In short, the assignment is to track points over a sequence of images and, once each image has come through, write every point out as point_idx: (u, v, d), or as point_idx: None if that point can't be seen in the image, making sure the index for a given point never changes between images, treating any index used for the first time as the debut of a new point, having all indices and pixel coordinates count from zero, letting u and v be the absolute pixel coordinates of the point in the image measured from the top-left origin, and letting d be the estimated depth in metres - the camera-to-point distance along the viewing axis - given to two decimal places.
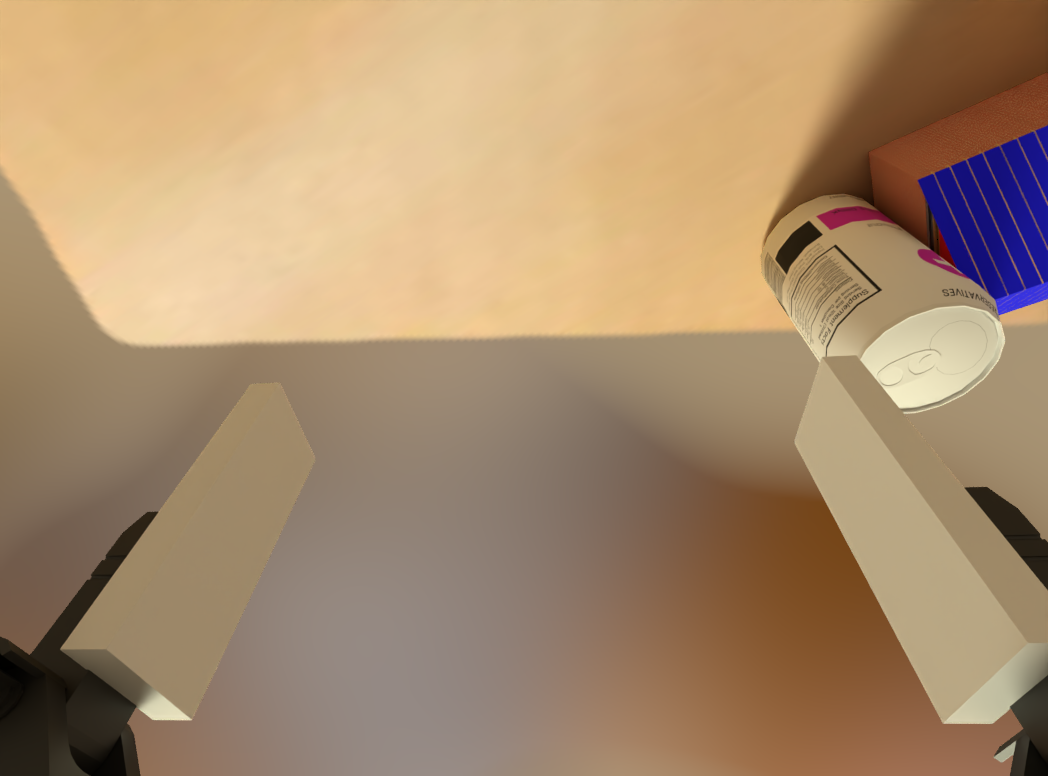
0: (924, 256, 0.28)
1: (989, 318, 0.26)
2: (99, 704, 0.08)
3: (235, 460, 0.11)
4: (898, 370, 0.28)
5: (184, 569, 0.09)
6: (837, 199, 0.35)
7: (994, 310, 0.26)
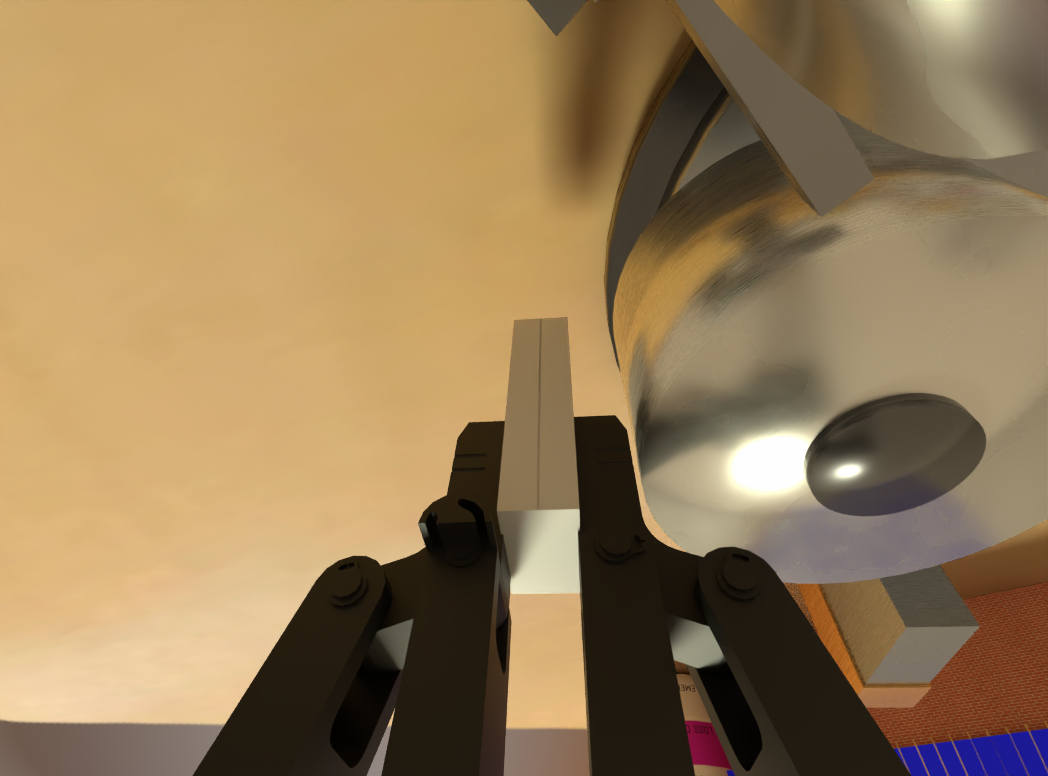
0: None
1: None
2: (505, 566, 0.10)
3: (541, 377, 0.12)
4: None
5: None
6: None
7: None
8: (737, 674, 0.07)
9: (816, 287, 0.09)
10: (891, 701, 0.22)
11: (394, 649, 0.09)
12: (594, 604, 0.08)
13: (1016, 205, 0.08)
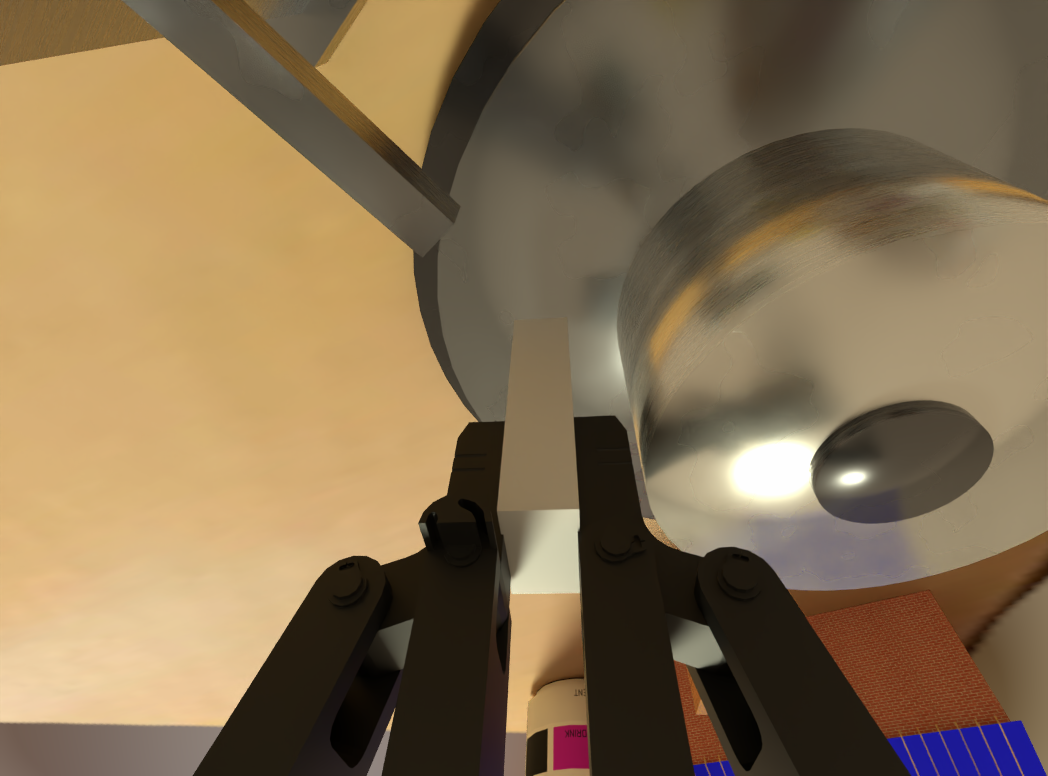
0: None
1: None
2: (506, 566, 0.10)
3: (541, 378, 0.12)
4: None
5: None
6: (579, 700, 0.35)
7: None
8: (737, 674, 0.07)
9: (821, 295, 0.09)
10: None
11: (394, 649, 0.09)
12: (594, 604, 0.08)
13: (1023, 212, 0.08)
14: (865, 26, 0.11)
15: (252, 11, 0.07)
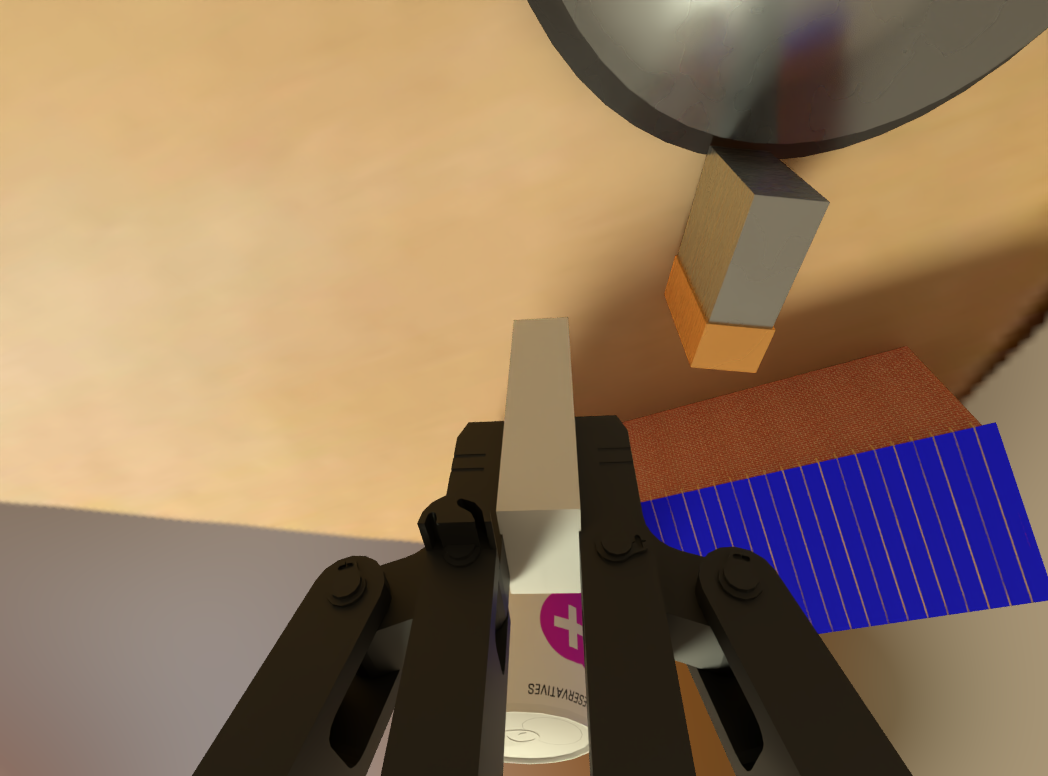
0: (545, 613, 0.26)
1: None
2: (505, 566, 0.10)
3: (540, 378, 0.12)
4: None
5: None
6: None
7: (586, 704, 0.24)
8: (738, 674, 0.07)
9: None
10: (734, 357, 0.20)
11: (393, 649, 0.09)
12: (595, 604, 0.08)
13: None
14: None
15: None
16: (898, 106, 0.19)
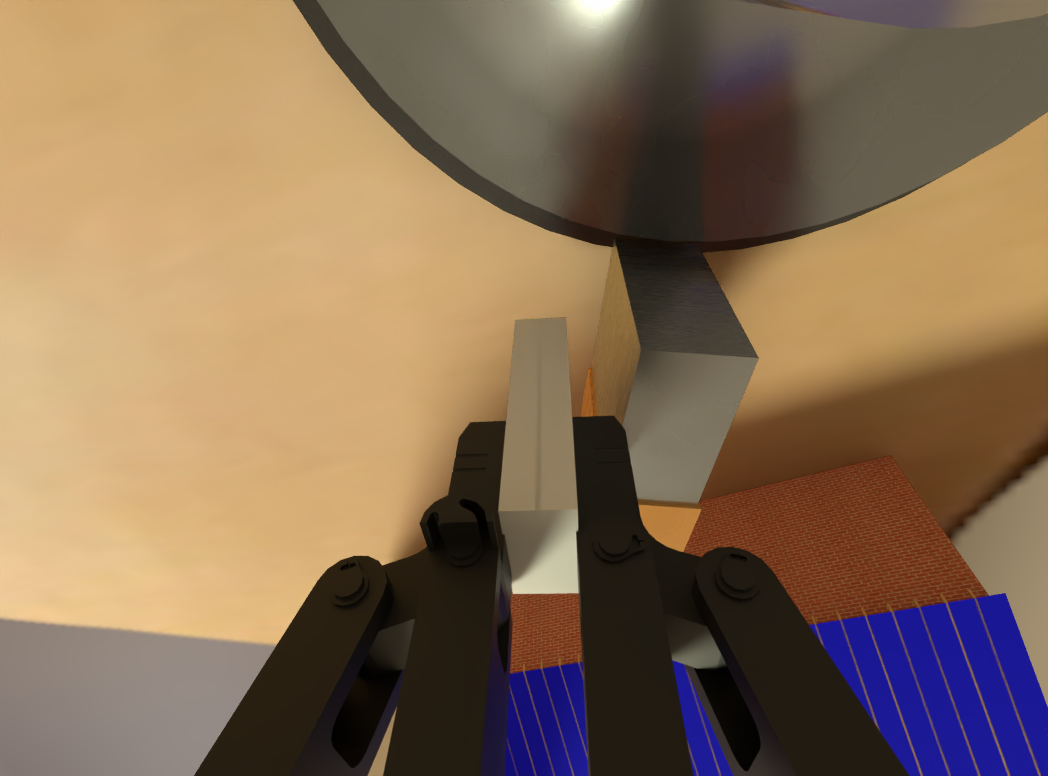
0: None
1: None
2: (507, 566, 0.10)
3: (542, 377, 0.12)
4: None
5: None
6: None
7: None
8: (734, 674, 0.07)
9: None
10: None
11: (395, 649, 0.09)
12: (592, 604, 0.08)
13: None
14: None
15: None
16: (872, 190, 0.13)
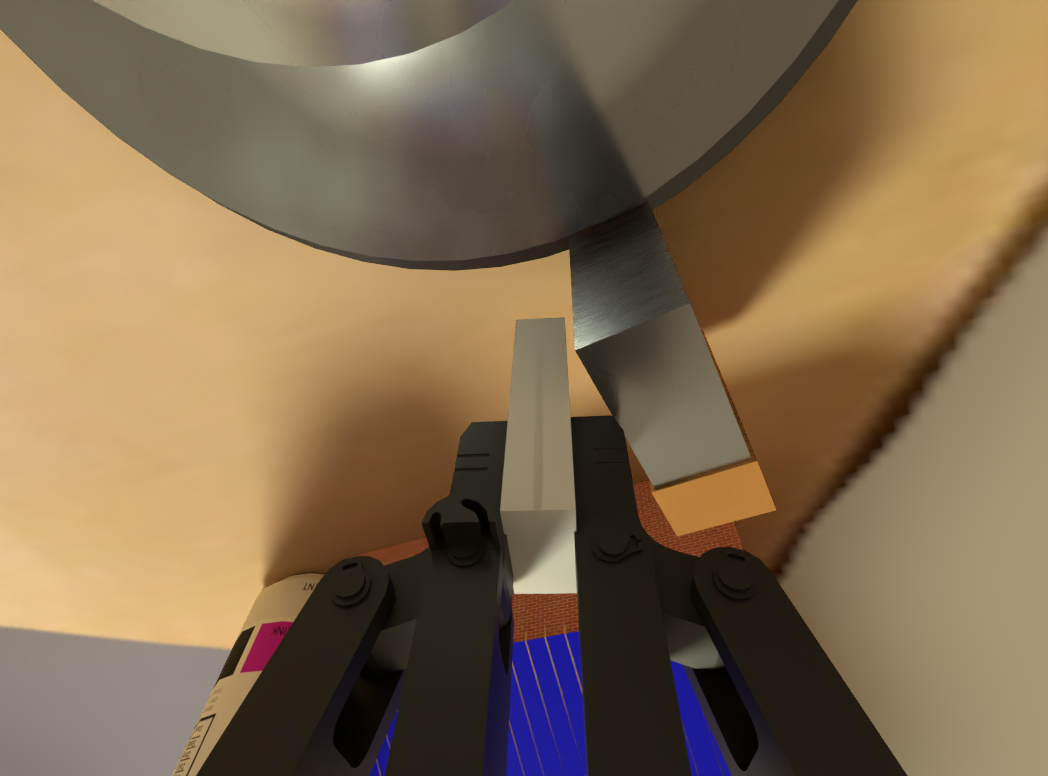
0: None
1: None
2: (508, 566, 0.10)
3: (543, 378, 0.12)
4: None
5: None
6: (306, 595, 0.27)
7: None
8: (733, 674, 0.07)
9: None
10: (727, 507, 0.13)
11: (397, 649, 0.09)
12: (591, 604, 0.08)
13: None
14: None
15: None
16: (775, 53, 0.11)
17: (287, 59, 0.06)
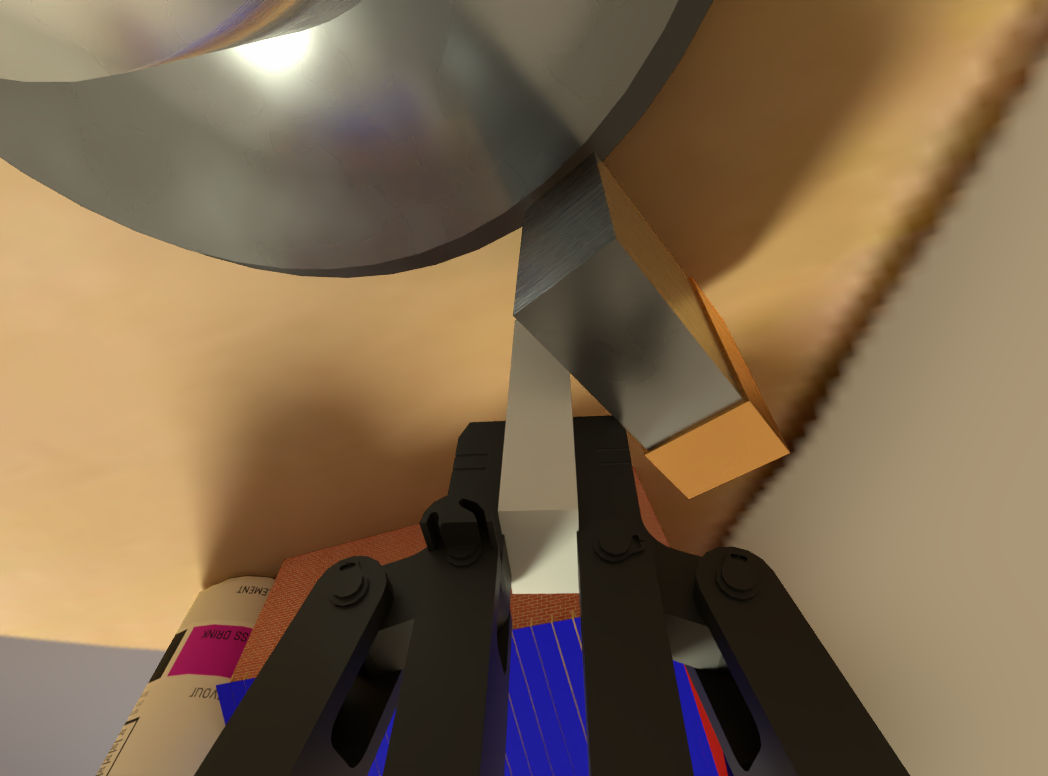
0: None
1: None
2: (506, 566, 0.10)
3: (542, 377, 0.12)
4: None
5: None
6: (240, 598, 0.28)
7: None
8: (736, 674, 0.07)
9: None
10: (733, 458, 0.12)
11: (395, 649, 0.09)
12: (593, 604, 0.08)
13: None
14: None
15: None
16: None
17: (100, 70, 0.06)
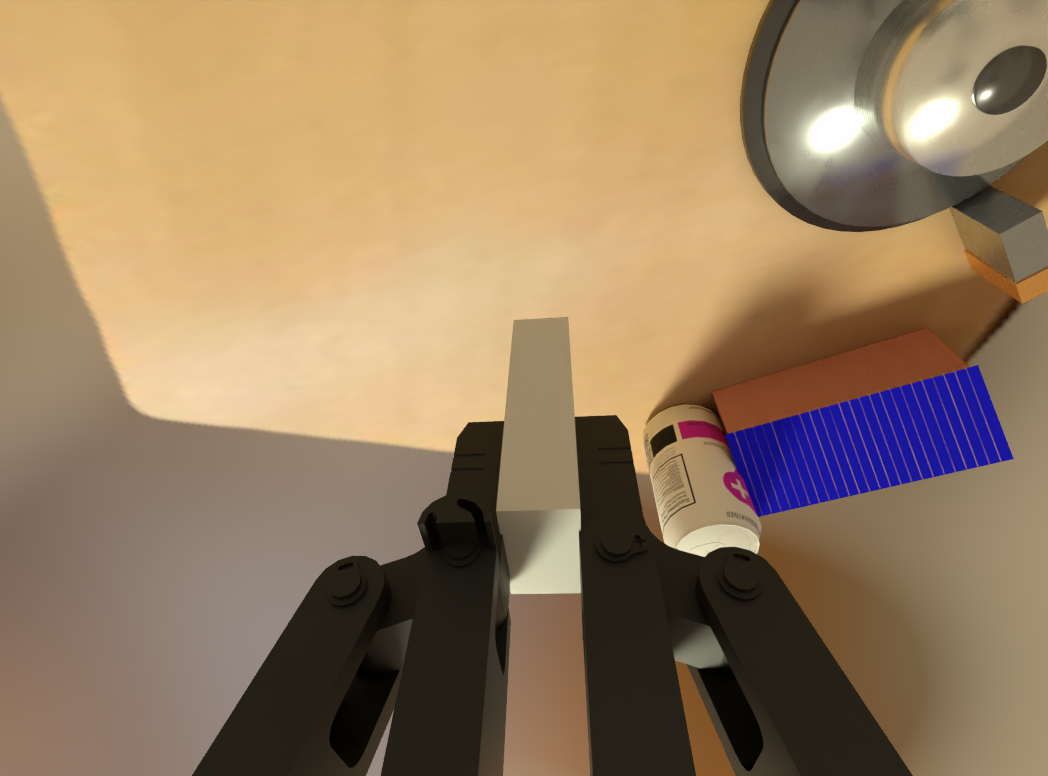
0: (726, 481, 0.45)
1: (751, 531, 0.43)
2: (505, 566, 0.10)
3: (540, 377, 0.12)
4: (701, 550, 0.45)
5: None
6: (693, 410, 0.52)
7: (755, 526, 0.43)
8: (738, 674, 0.07)
9: (935, 48, 0.27)
10: (1045, 285, 0.37)
11: (393, 649, 0.09)
12: (595, 604, 0.08)
13: None
14: None
15: None
16: None
17: (973, 174, 0.31)
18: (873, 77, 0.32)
